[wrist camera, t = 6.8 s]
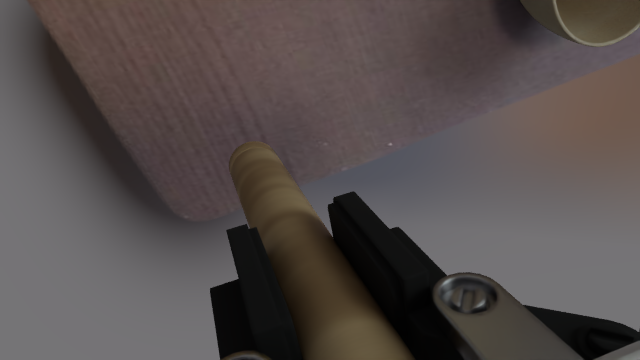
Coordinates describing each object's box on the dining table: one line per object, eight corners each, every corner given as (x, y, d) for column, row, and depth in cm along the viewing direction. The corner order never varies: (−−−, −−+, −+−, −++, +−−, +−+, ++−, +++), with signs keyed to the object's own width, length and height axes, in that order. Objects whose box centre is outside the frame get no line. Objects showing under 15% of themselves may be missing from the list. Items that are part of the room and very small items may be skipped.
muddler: (235, 192, 19) (345, 506, 7) (222, 148, 18) (324, 425, 7) (281, 179, 19) (453, 457, 8) (271, 135, 18) (448, 374, 7)
